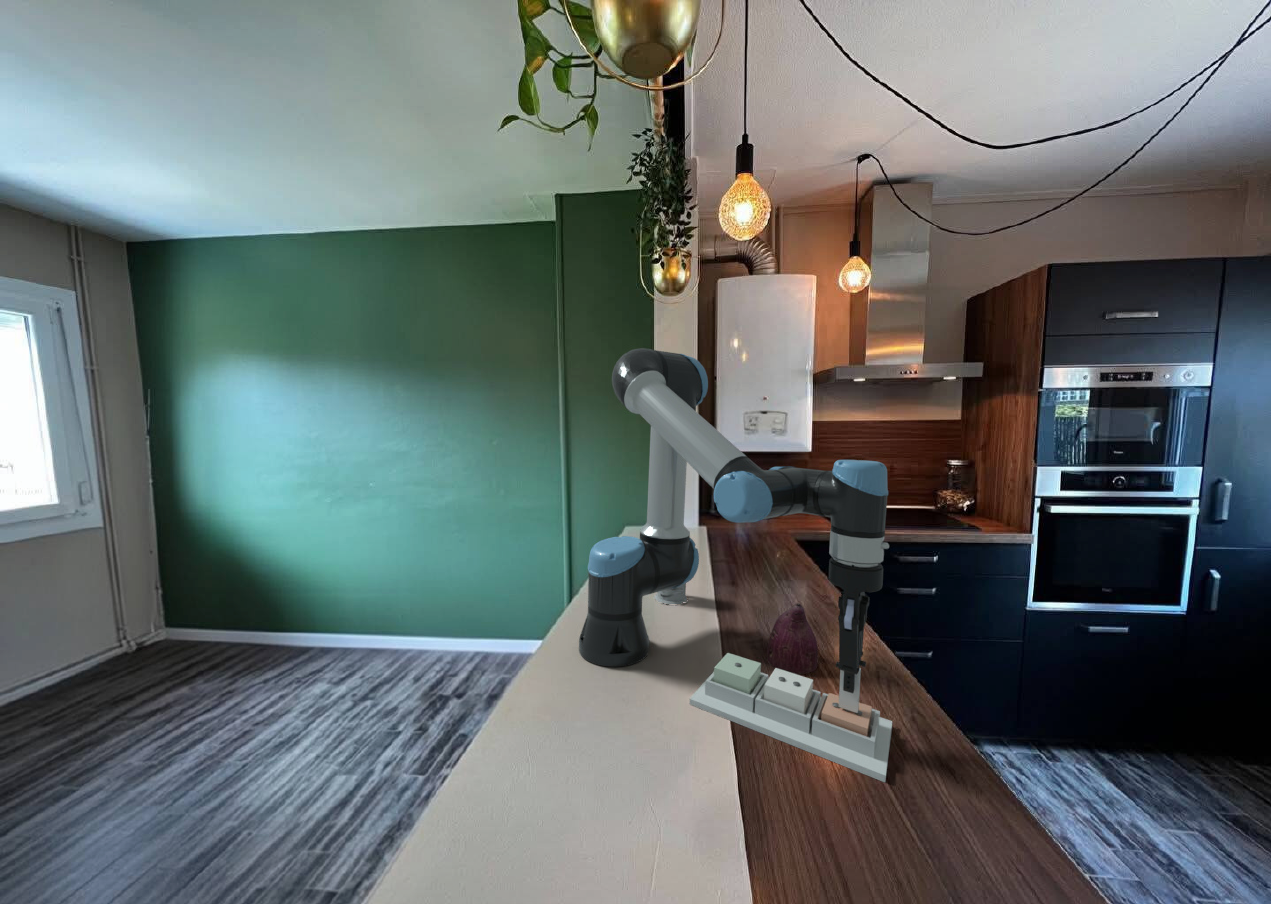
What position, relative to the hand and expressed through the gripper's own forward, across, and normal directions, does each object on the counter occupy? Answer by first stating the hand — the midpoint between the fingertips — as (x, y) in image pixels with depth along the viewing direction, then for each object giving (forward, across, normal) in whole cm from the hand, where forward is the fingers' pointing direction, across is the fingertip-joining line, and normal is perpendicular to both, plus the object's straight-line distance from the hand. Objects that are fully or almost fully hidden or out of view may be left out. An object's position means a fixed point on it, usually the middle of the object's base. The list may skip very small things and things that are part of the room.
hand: (848, 707), depth 71 cm
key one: (+2, 0, +18) cm, 18 cm away
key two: (+2, 0, +9) cm, 9 cm away
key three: (+4, 0, 0) cm, 4 cm away
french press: (+5, +34, +49) cm, 60 cm away
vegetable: (+5, +19, +13) cm, 24 cm away
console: (+5, 0, +9) cm, 10 cm away
